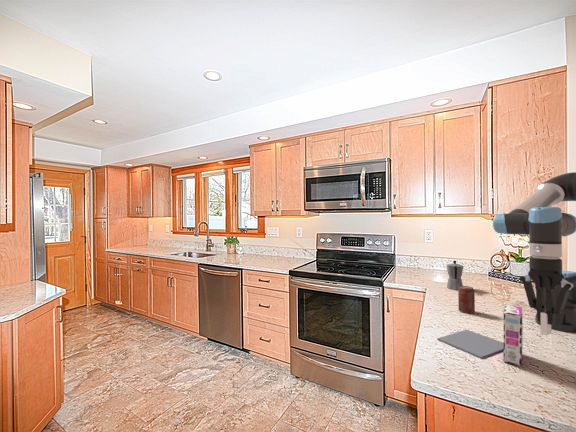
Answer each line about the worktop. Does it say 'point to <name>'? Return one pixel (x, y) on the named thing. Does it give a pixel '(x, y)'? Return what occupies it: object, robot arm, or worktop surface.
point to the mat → (473, 343)
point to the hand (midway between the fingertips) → (546, 333)
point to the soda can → (466, 299)
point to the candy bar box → (513, 335)
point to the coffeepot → (454, 276)
